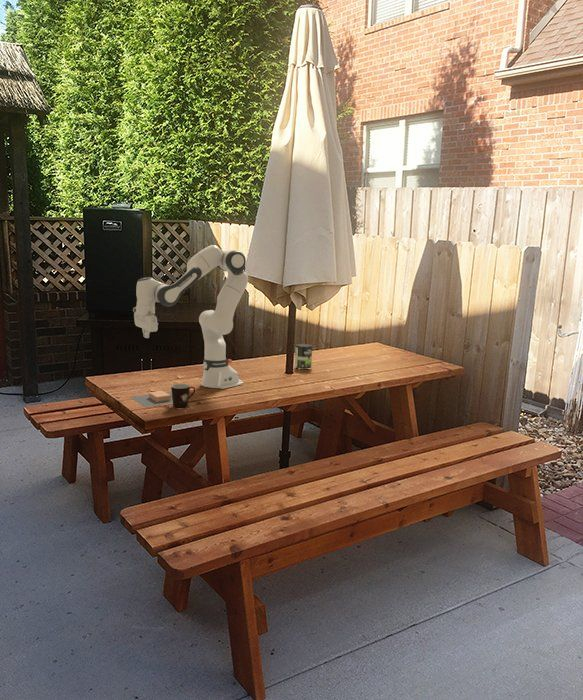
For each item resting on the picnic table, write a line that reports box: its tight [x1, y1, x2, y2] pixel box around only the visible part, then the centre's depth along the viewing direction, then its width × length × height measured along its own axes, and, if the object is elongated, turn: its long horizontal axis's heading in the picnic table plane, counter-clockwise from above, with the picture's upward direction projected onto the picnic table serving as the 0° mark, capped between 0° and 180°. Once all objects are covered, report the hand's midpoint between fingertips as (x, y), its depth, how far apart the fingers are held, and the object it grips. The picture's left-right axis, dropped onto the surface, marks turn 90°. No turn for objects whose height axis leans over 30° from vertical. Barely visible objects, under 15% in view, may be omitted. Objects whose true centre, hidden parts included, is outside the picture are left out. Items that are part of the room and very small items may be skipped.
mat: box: [129, 390, 173, 408], centre depth 307 cm, size 22×18×1 cm
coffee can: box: [294, 343, 313, 370], centre depth 382 cm, size 10×10×14 cm
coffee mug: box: [170, 383, 196, 409], centre depth 297 cm, size 12×9×10 cm
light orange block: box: [148, 390, 171, 402], centre depth 306 cm, size 7×3×9 cm
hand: (146, 337), depth 318 cm, fingers closed
